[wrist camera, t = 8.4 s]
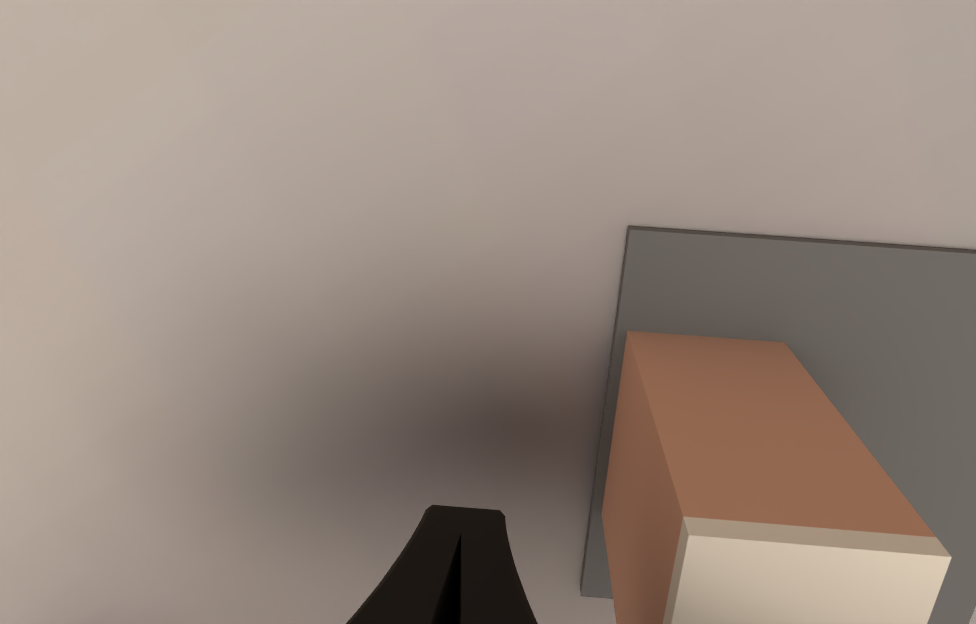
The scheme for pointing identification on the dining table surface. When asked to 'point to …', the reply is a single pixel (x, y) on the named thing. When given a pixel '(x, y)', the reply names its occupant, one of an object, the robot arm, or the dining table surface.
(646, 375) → the block
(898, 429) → the mat
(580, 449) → the dining table surface
